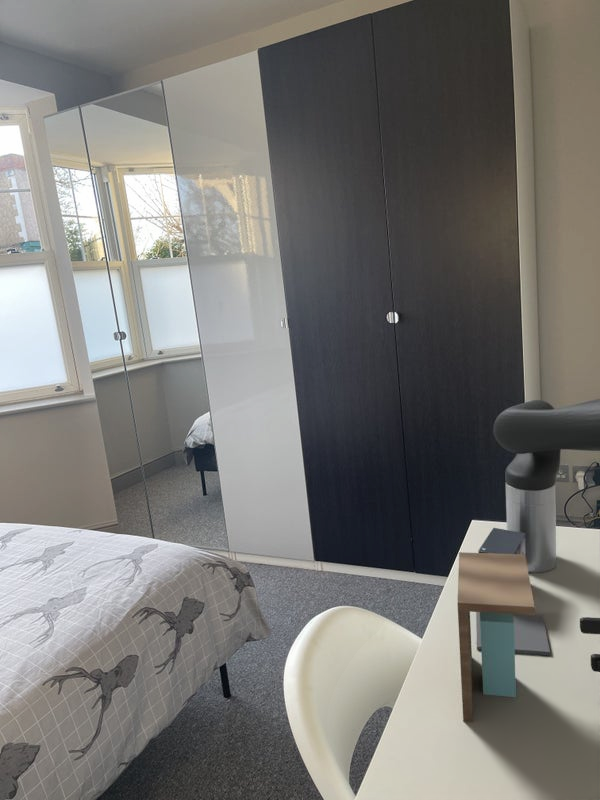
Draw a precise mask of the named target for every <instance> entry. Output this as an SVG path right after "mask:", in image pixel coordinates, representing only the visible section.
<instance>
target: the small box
mask: <svg viewBox="0 0 600 800" xmlns="http://www.w3.org/2000/svg"><path fill="white" fill-rule="evenodd" d="M477 551H478V552H477V553H495V554H525V533H522V532H516V531H509V530H507V529H504V528H498V527H493V528H492V529H491V531H490V532H489V534H488V535H487V537H486V538H485V539H484V541H483V543H482V545H481V546H480V547H479V548H478V550H477Z"/></svg>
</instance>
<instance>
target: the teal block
mask: <svg viewBox="0 0 600 800" xmlns="http://www.w3.org/2000/svg"><path fill="white" fill-rule="evenodd" d="M480 628H481V650H480V651H481V672H482V673H481V674H482V677H481V678H482V694H483V695H488V696H498V697H508V698H509V697H511V698H517V691H516V690H517V687H516V684H517V683H516V653H515V646H514V620H513V614H502V613H485V612H480Z"/></svg>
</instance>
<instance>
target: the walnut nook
mask: <svg viewBox="0 0 600 800" xmlns="http://www.w3.org/2000/svg"><path fill="white" fill-rule="evenodd" d="M457 575H458V576H457V577H458V580H457V618H458V619H457V620H458V621H457V622H458V623H457V624H458V640H459V641H458V643H459V660H460V661H459V663H460V677H461V678H460V679H461V680H460V683H461V698H462V699H461V700H462V705H461V706H462V721H463V722H469V723H473V654H472V653H473V651H472V649H473V648H472V630H471V628H472V627H471V613H472V612H473V613H476V612H485V613H502V614H519V615H536V613H535V612H536V609H535V608H536V607H535V603H534V597H533V595H534V594H533V590H532V585H531V579H530V572H528V568H527V562H526V556H525V554H495V553H478V552H465V551H464V552H459V553H458V574H457Z"/></svg>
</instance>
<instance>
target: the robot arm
mask: <svg viewBox="0 0 600 800" xmlns="http://www.w3.org/2000/svg"><path fill="white" fill-rule="evenodd" d="M492 431H493V437H494V438H495V440H496V442H497V443H498V444H499V445H500V446H501V447H502V448H504V449H505V450H506V451H507V452H511V453H514V454H516V455H515V456H514V458H513V460H511V462H510V463H509V464H508V465H507V467H506V468H505V473H504V474H505V475H504V476H505V478H504V480H505V509H506V530H509V531H516V532H522V533H525V556H526V562H527V568H528V573H543V572H545V573H546V572H548V571H549V572H550V571H551V570H552V569H554V568H555V567H556V566H557V526H556V524H557V514H556V513H557V512H556V509H557V508H556V503H557V502H556V499H557V497H556V476H557V474H558V472H559V468H560V467H561V466H560V464H561V450H572V451H587V452H588V451H590V452H591V451H592V452H600V398H598V399H592V400H587V401H584V402H579V403H575V404H572V405H569V406H565V407H558V408H555V407H554V406H553V405H552V404H551V403H549V402H548V401H545V400H541V399H534V400H530V401H526V402H523V403H519V404H516V405H513V406H510V407H507V408H506V409H504V410H503V411H502V412H500V413H499V415H498V416H497V417H496V419H495V421H494V423H493V430H492ZM579 629H580V632H581V633H582V634H586V635H587V634H588V635H589V634H590V635H600V617H591V616H590V617H583V616H582V617H581V618H579ZM590 668H591V670H592V671H593V672H595V673H598V672H599V673H600V653H592V654H591V655H590Z"/></svg>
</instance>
